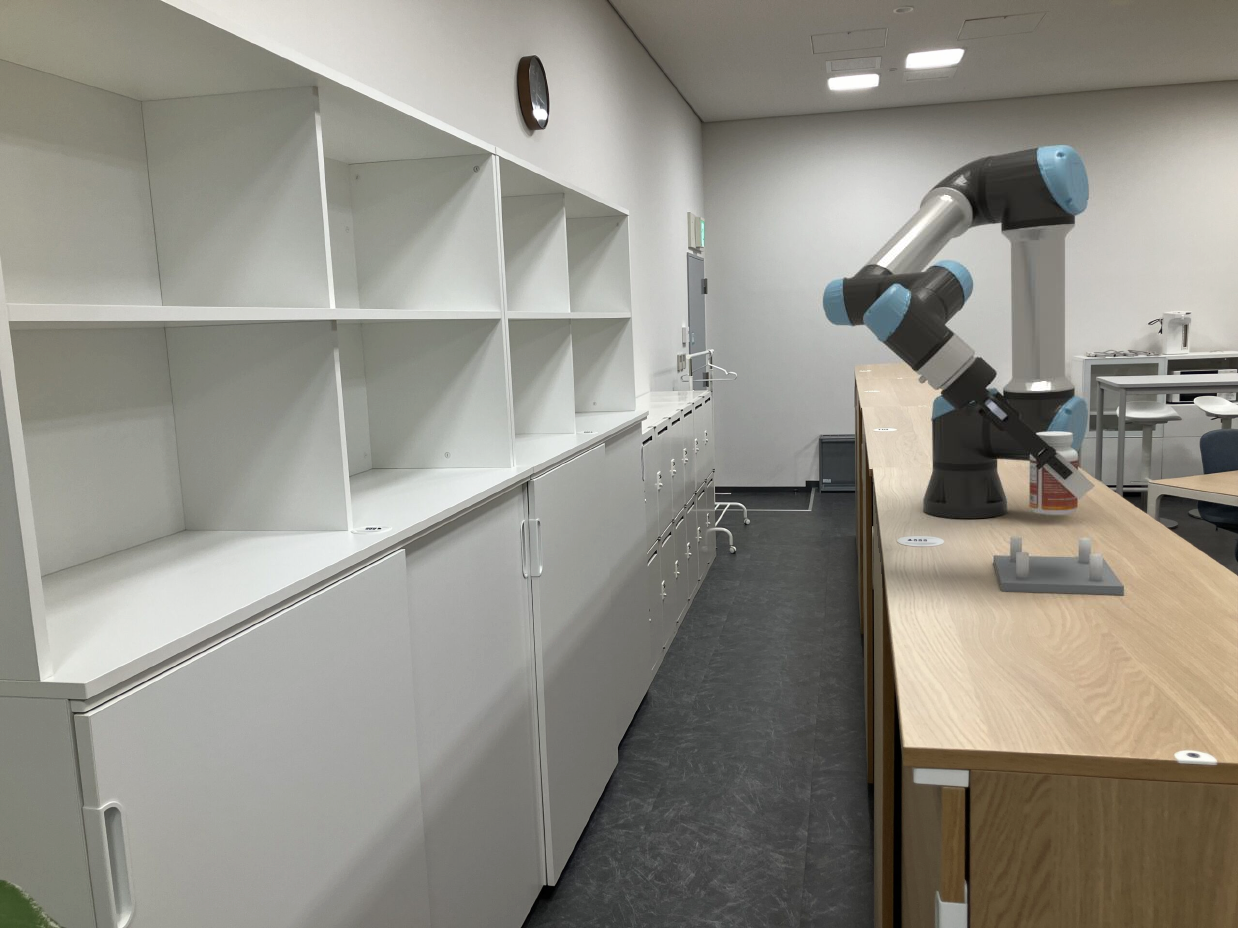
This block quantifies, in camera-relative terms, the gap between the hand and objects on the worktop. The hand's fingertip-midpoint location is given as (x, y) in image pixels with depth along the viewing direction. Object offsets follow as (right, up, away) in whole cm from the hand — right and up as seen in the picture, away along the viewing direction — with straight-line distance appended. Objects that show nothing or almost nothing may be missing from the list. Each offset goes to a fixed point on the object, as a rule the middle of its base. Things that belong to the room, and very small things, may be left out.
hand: (1082, 487), depth 129 cm
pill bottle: (-3, -4, +2) cm, 5 cm away
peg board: (-2, -13, +3) cm, 14 cm away
